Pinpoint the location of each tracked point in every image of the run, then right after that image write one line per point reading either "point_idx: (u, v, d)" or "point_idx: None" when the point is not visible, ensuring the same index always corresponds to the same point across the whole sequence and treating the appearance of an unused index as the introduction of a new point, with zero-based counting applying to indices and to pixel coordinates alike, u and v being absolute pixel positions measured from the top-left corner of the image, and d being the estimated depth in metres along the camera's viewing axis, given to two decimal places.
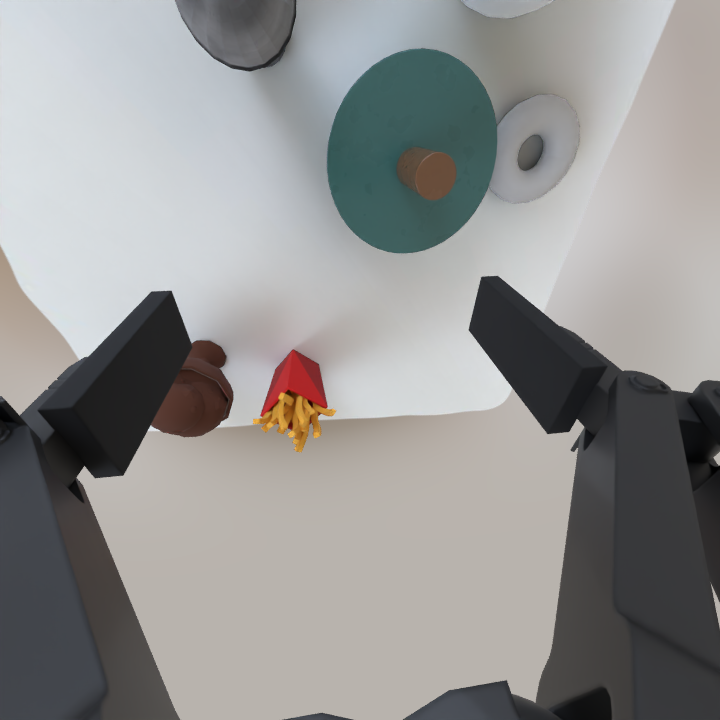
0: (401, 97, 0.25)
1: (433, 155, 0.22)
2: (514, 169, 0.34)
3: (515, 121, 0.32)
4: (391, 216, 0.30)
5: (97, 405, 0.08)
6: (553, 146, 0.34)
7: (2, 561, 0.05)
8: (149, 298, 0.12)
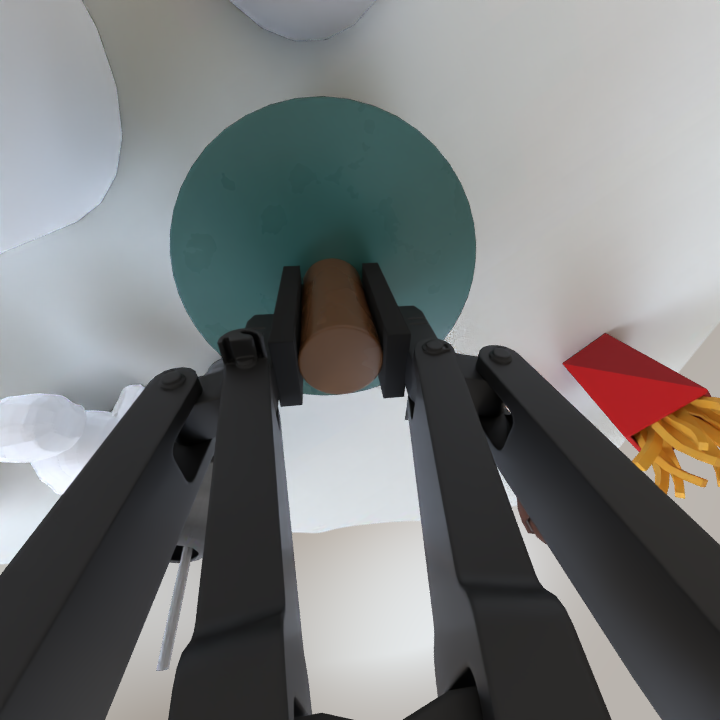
0: (243, 316, 0.17)
1: (304, 374, 0.11)
2: None
3: None
4: None
5: (295, 344, 0.10)
6: None
7: (238, 457, 0.06)
8: (287, 271, 0.14)
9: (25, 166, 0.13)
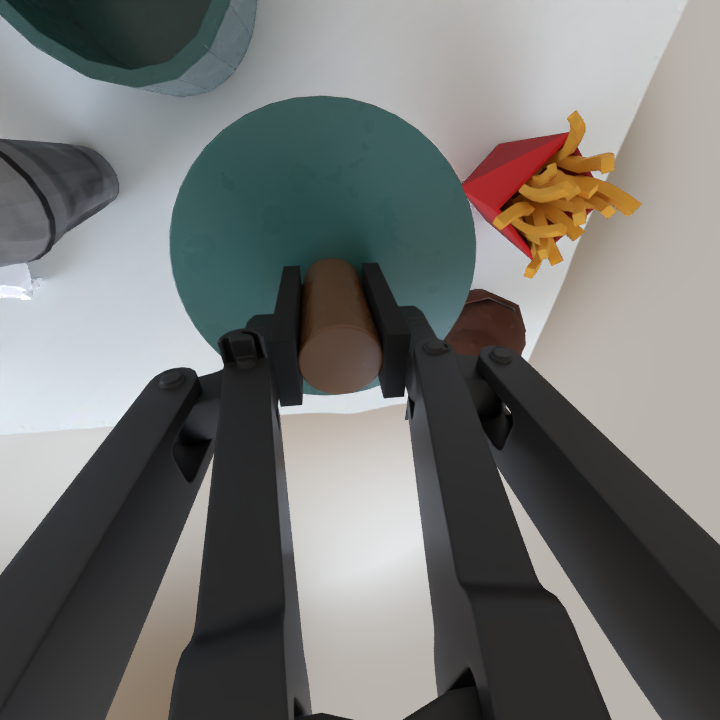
0: (243, 316, 0.17)
1: (303, 374, 0.11)
2: None
3: None
4: None
5: (295, 344, 0.10)
6: None
7: (238, 457, 0.06)
8: (287, 271, 0.14)
9: None
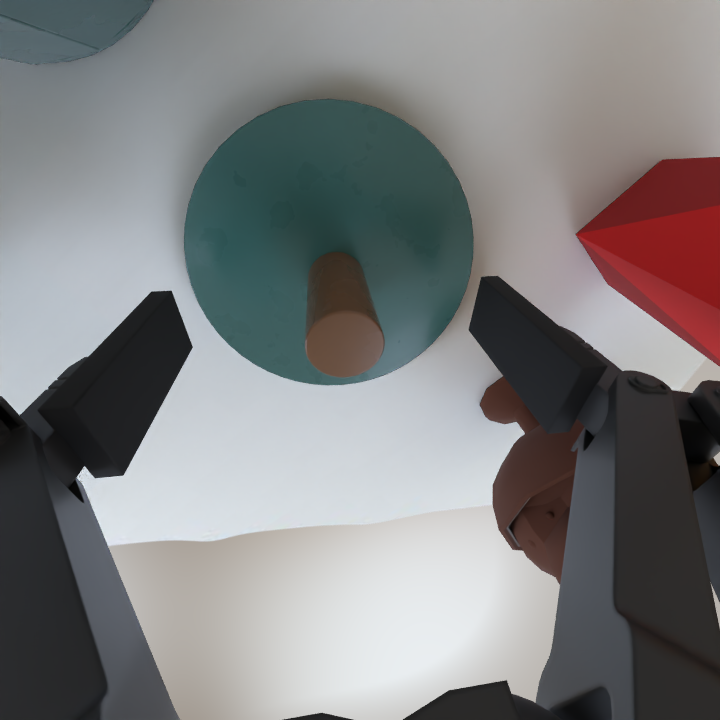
0: (251, 307, 0.17)
1: (310, 357, 0.12)
2: None
3: None
4: (405, 304, 0.18)
5: (97, 405, 0.08)
6: None
7: (2, 561, 0.05)
8: (149, 299, 0.12)
9: None
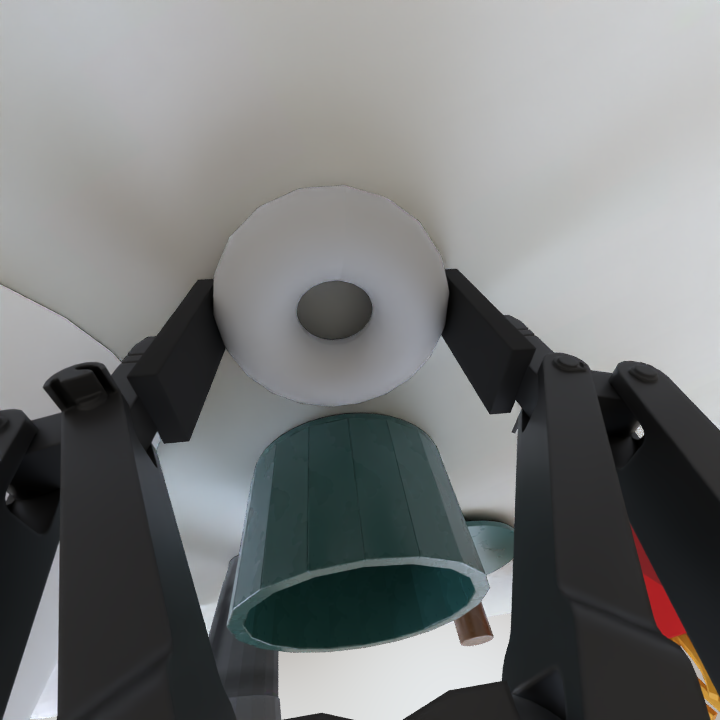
0: None
1: (462, 644, 0.29)
2: (369, 373, 0.14)
3: (280, 395, 0.15)
4: (483, 563, 0.35)
5: (171, 375, 0.09)
6: (317, 283, 0.12)
7: (94, 510, 0.06)
8: (198, 286, 0.13)
9: None
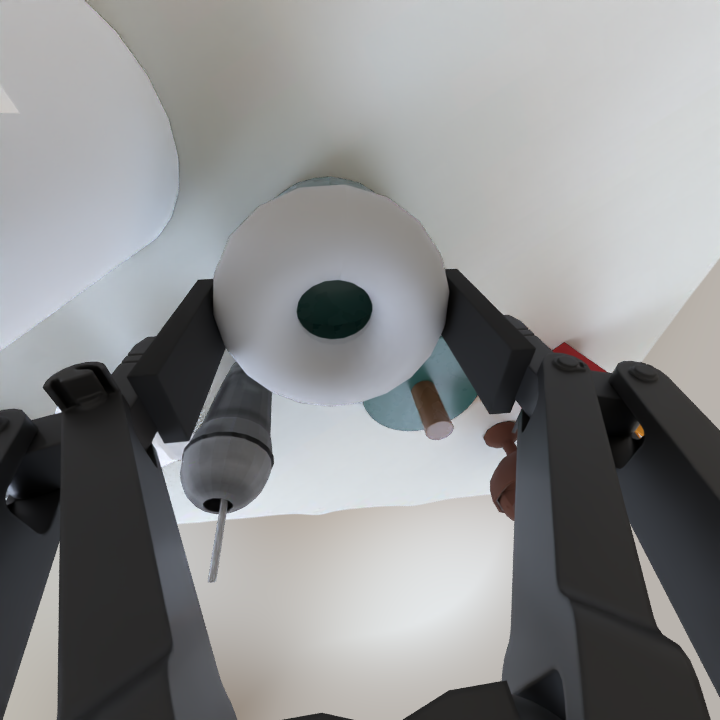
0: (384, 400, 0.39)
1: (427, 434, 0.34)
2: (369, 372, 0.14)
3: (280, 394, 0.15)
4: (451, 397, 0.40)
5: (171, 375, 0.09)
6: (317, 282, 0.12)
7: (94, 510, 0.06)
8: (198, 286, 0.13)
9: (129, 227, 0.19)
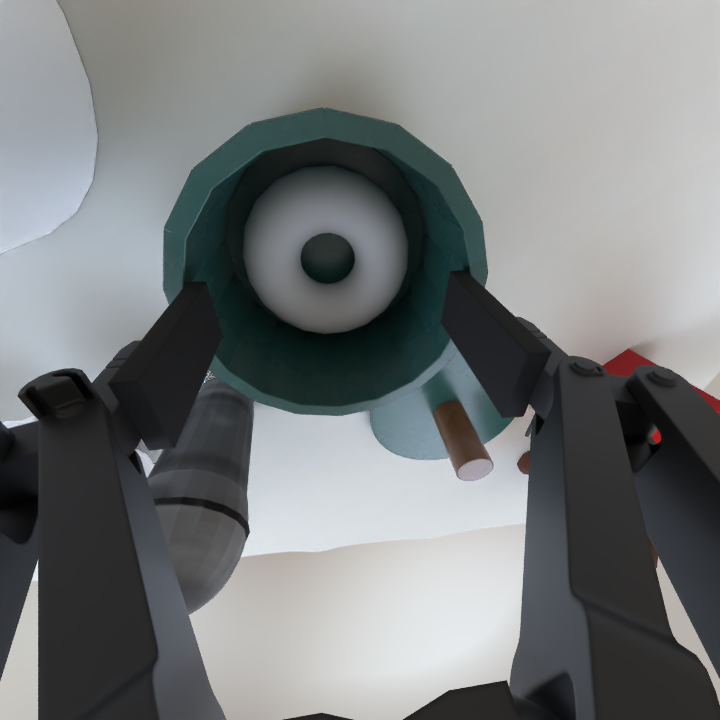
0: (398, 425, 0.31)
1: (458, 474, 0.25)
2: (352, 303, 0.20)
3: (288, 320, 0.20)
4: (483, 420, 0.32)
5: (155, 381, 0.09)
6: (314, 233, 0.18)
7: (75, 520, 0.05)
8: (187, 288, 0.13)
9: None
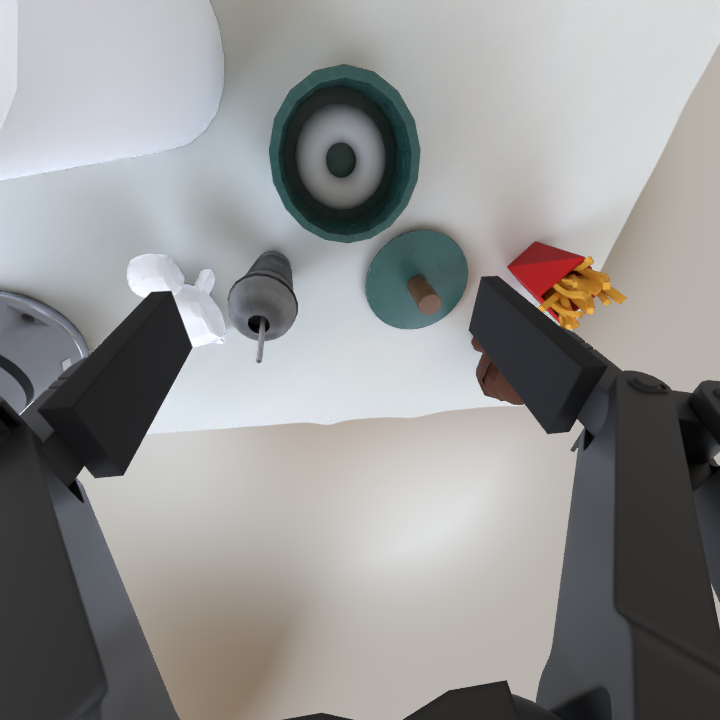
0: (384, 295, 0.46)
1: (420, 308, 0.41)
2: (354, 185, 0.35)
3: (318, 196, 0.36)
4: (441, 294, 0.47)
5: (97, 405, 0.08)
6: (335, 140, 0.33)
7: (2, 561, 0.05)
8: (149, 298, 0.12)
9: (199, 92, 0.26)
